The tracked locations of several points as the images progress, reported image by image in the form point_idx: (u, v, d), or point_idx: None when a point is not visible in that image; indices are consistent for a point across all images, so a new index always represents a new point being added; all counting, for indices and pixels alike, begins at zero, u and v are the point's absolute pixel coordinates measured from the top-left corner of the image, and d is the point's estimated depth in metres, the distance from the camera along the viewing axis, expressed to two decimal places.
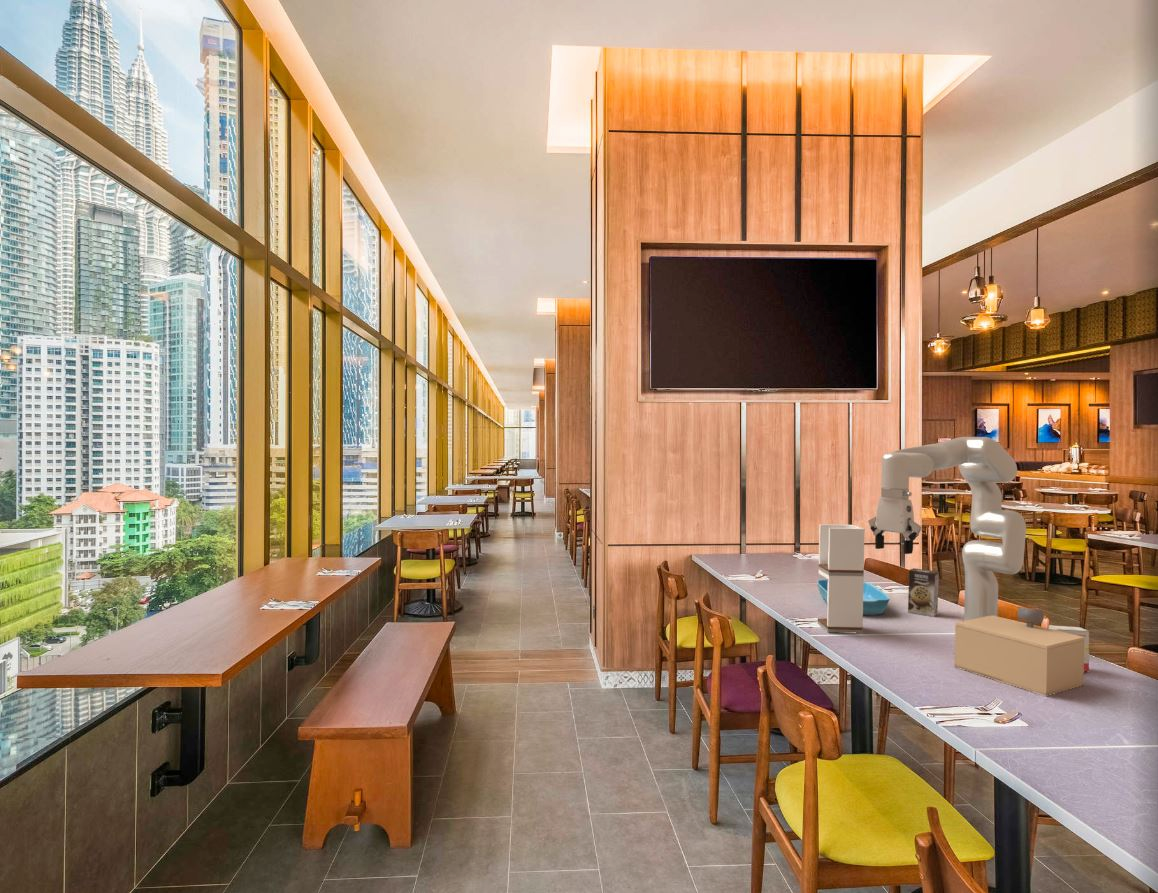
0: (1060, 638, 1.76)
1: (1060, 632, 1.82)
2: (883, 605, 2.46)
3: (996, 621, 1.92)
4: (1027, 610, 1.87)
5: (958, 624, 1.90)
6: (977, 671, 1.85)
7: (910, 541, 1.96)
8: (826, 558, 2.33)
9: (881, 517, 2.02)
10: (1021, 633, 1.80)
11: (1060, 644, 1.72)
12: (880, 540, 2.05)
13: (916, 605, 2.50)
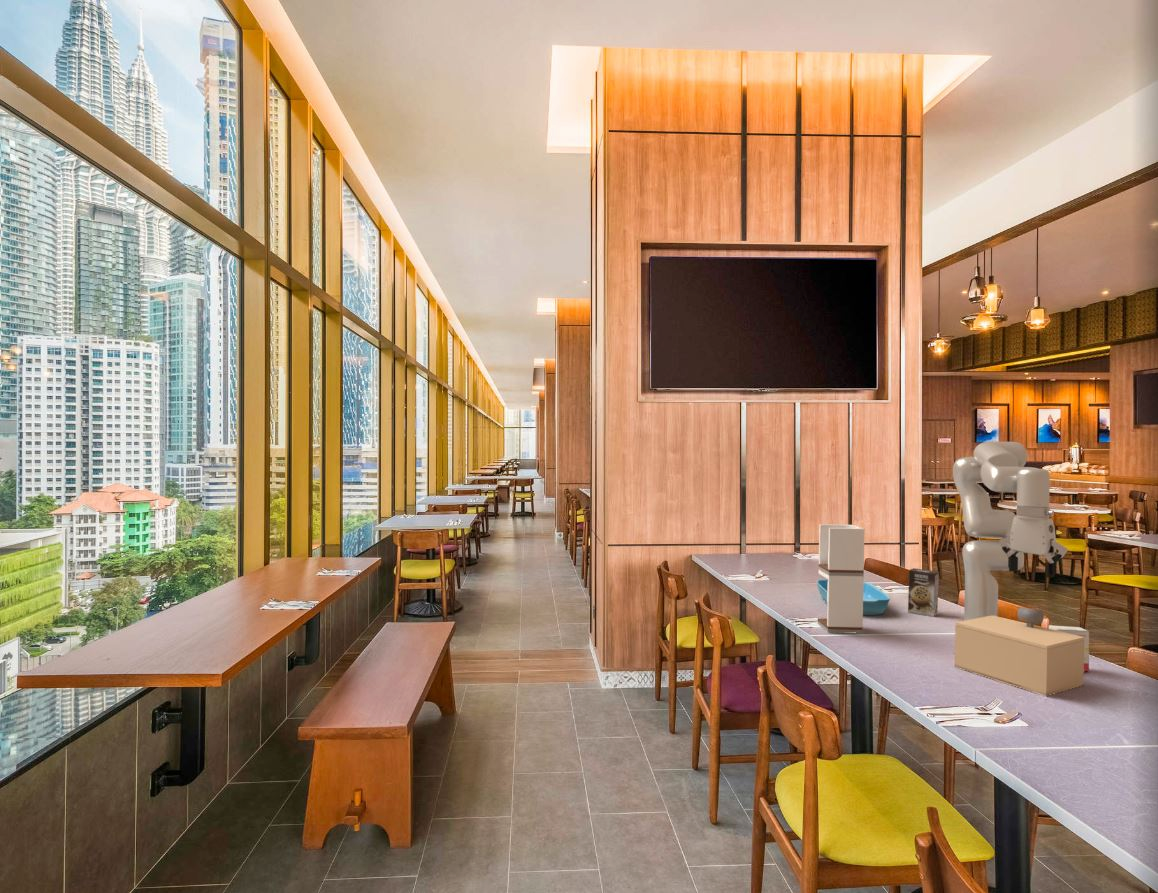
0: (1060, 638, 1.76)
1: (1060, 632, 1.82)
2: (883, 605, 2.46)
3: (996, 621, 1.92)
4: (1027, 610, 1.87)
5: (958, 624, 1.90)
6: (977, 671, 1.85)
7: (1053, 564, 1.81)
8: (826, 558, 2.33)
9: (1018, 538, 1.88)
10: (1021, 633, 1.80)
11: (1060, 644, 1.72)
12: (1014, 562, 1.90)
13: (916, 605, 2.50)
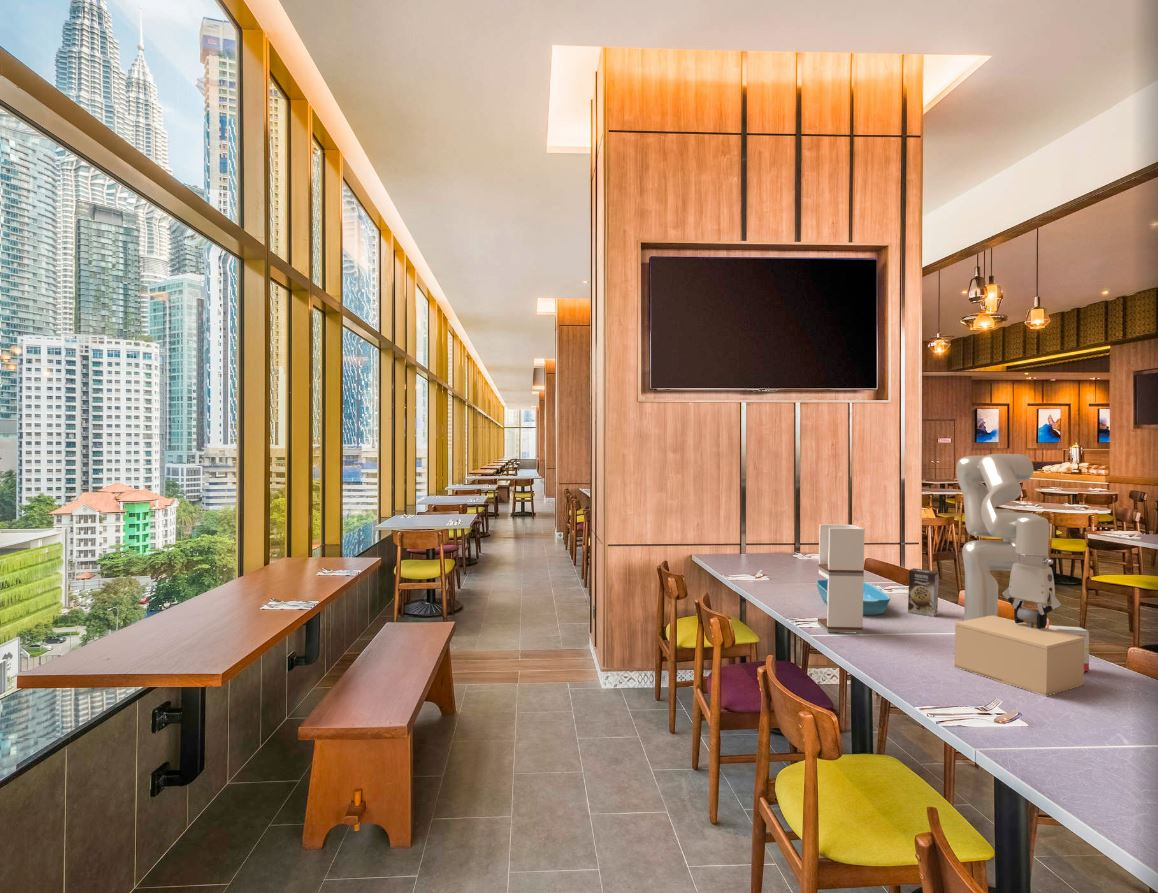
0: (1060, 638, 1.76)
1: (1060, 632, 1.82)
2: (884, 605, 2.46)
3: (996, 621, 1.92)
4: (1027, 610, 1.87)
5: (958, 624, 1.90)
6: (977, 671, 1.85)
7: (1044, 615, 1.83)
8: (826, 558, 2.33)
9: (1016, 585, 1.88)
10: (1021, 633, 1.80)
11: (1060, 644, 1.72)
12: None
13: (916, 605, 2.50)
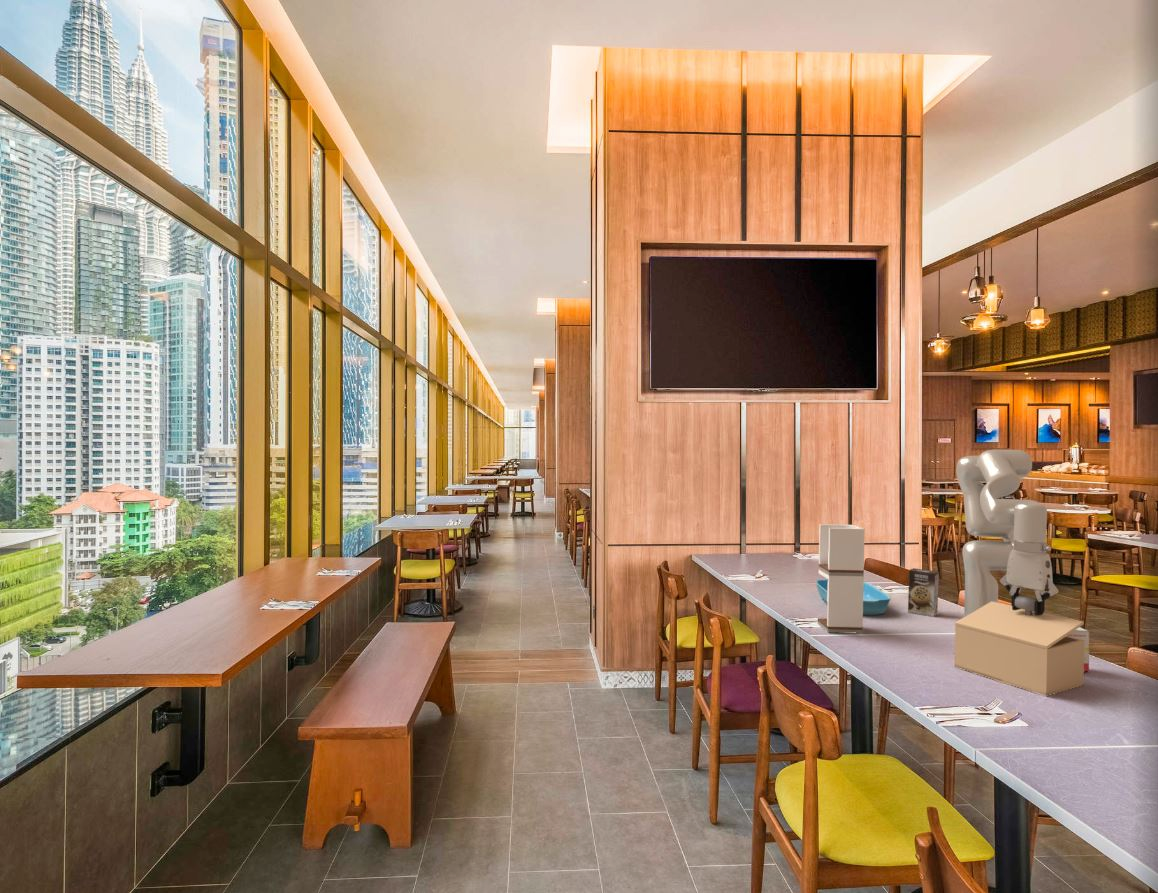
0: (1059, 629, 1.76)
1: (1059, 618, 1.81)
2: (884, 605, 2.46)
3: (995, 611, 1.92)
4: (1024, 599, 1.86)
5: (958, 624, 1.90)
6: (977, 671, 1.85)
7: (1042, 602, 1.82)
8: (826, 558, 2.33)
9: (1014, 572, 1.87)
10: (1020, 628, 1.80)
11: (1060, 638, 1.72)
12: None
13: (916, 605, 2.50)
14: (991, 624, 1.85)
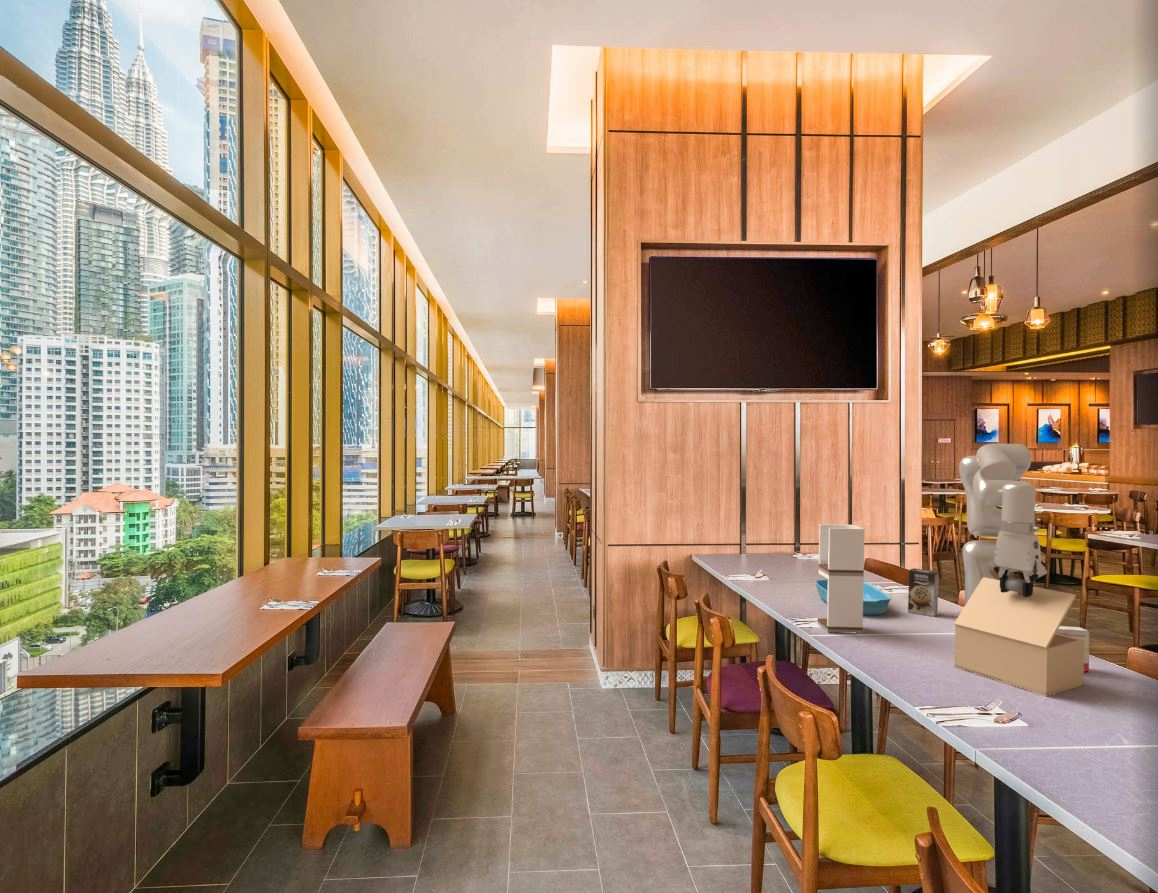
0: (1054, 614, 1.74)
1: (1051, 593, 1.79)
2: (885, 605, 2.46)
3: (989, 595, 1.90)
4: (1012, 584, 1.83)
5: (957, 625, 1.89)
6: (977, 671, 1.85)
7: (1030, 583, 1.80)
8: (826, 558, 2.33)
9: (1002, 553, 1.84)
10: (1017, 620, 1.79)
11: (1056, 629, 1.71)
12: None
13: (916, 605, 2.50)
14: (988, 619, 1.85)
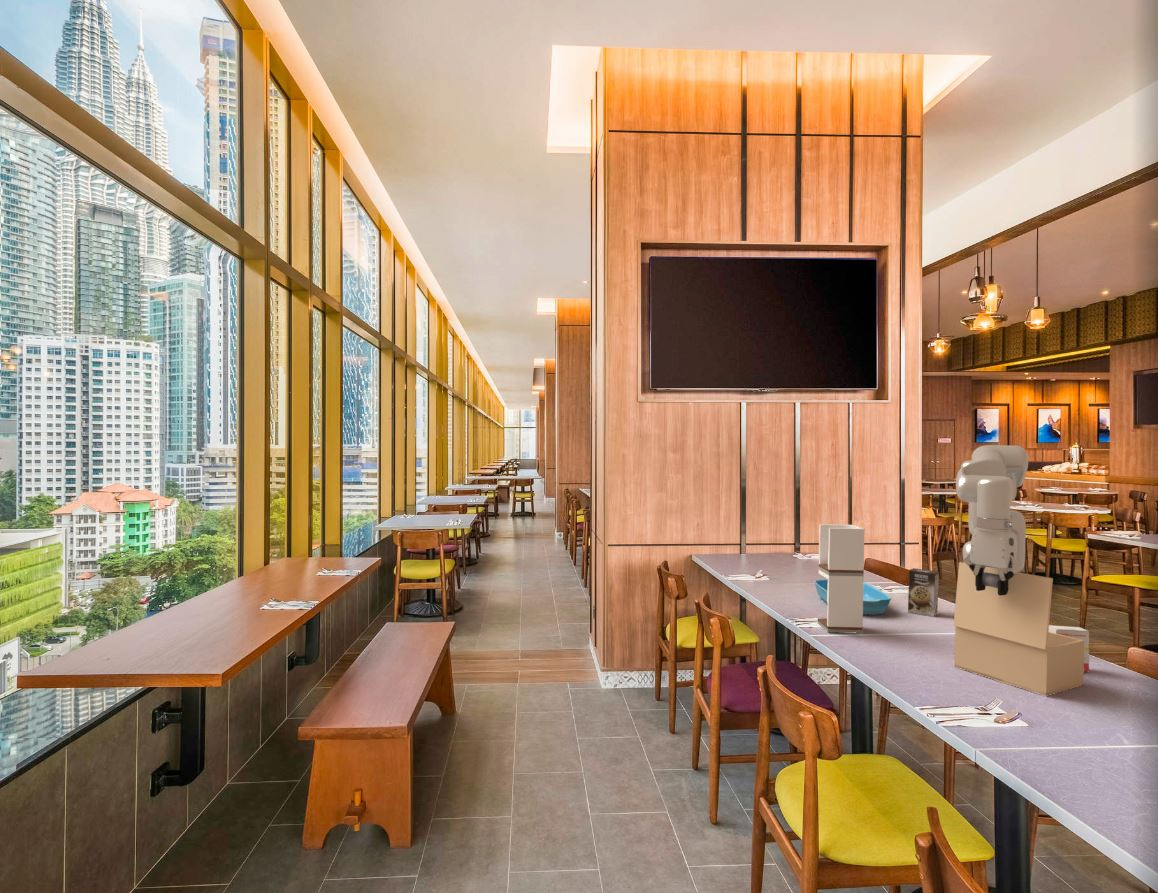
0: (1039, 606, 1.71)
1: (1029, 579, 1.74)
2: (885, 605, 2.46)
3: (973, 586, 1.86)
4: (990, 584, 1.78)
5: (957, 626, 1.89)
6: (977, 671, 1.85)
7: (1005, 581, 1.74)
8: (826, 558, 2.33)
9: (977, 551, 1.79)
10: (1008, 617, 1.77)
11: (1048, 624, 1.69)
12: (981, 581, 1.80)
13: (916, 605, 2.50)
14: (982, 617, 1.83)
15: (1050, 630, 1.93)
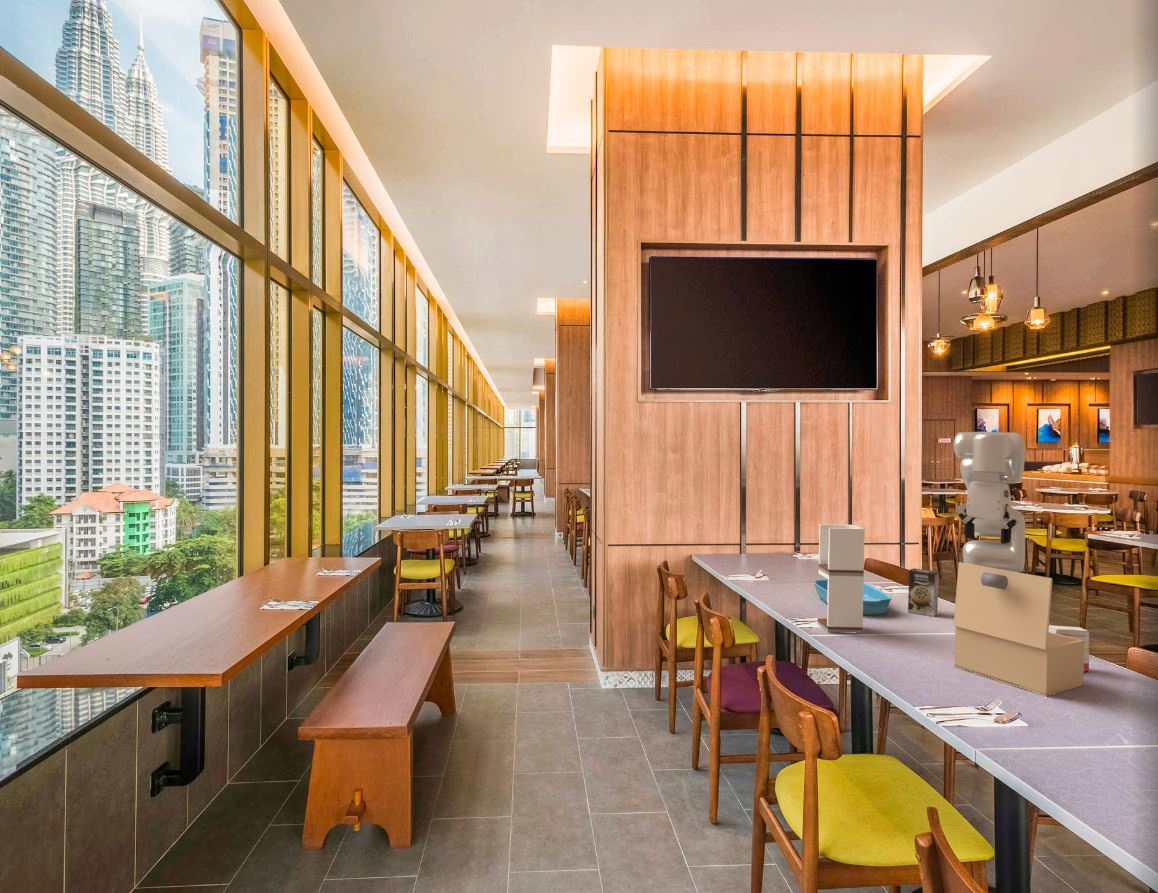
0: (1039, 606, 1.71)
1: (1028, 579, 1.74)
2: (886, 604, 2.47)
3: (972, 586, 1.86)
4: (989, 584, 1.78)
5: (957, 626, 1.89)
6: (977, 671, 1.85)
7: (1008, 529, 1.78)
8: (826, 558, 2.33)
9: (973, 504, 1.84)
10: (1008, 617, 1.77)
11: (1048, 624, 1.69)
12: (970, 528, 1.87)
13: (916, 605, 2.50)
14: (982, 617, 1.83)
15: (1050, 630, 1.93)
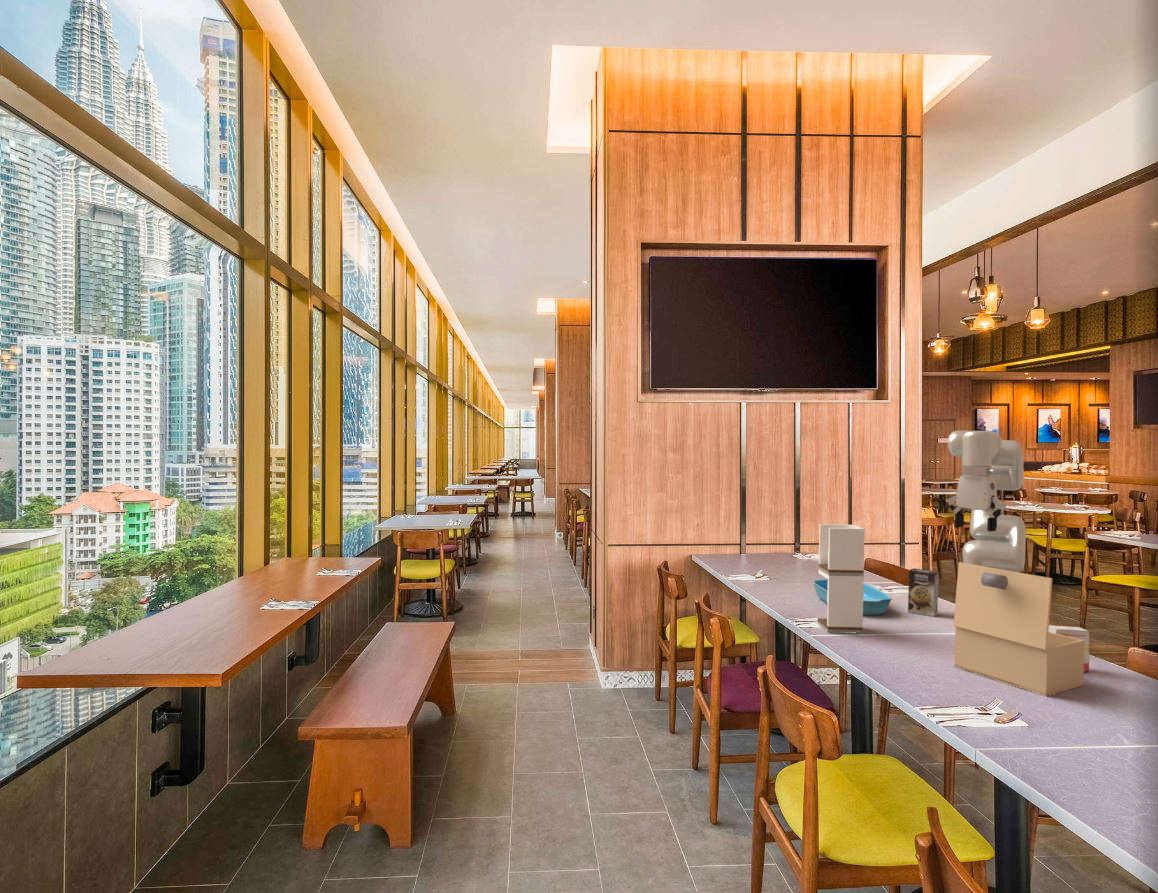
0: (1039, 606, 1.71)
1: (1028, 579, 1.74)
2: (886, 604, 2.47)
3: (972, 586, 1.86)
4: (989, 584, 1.78)
5: (957, 626, 1.89)
6: (977, 671, 1.85)
7: (994, 518, 1.95)
8: (826, 558, 2.33)
9: (963, 495, 2.02)
10: (1008, 617, 1.77)
11: (1048, 624, 1.69)
12: (960, 518, 2.04)
13: (916, 605, 2.50)
14: (982, 617, 1.83)
15: (1050, 630, 1.93)
